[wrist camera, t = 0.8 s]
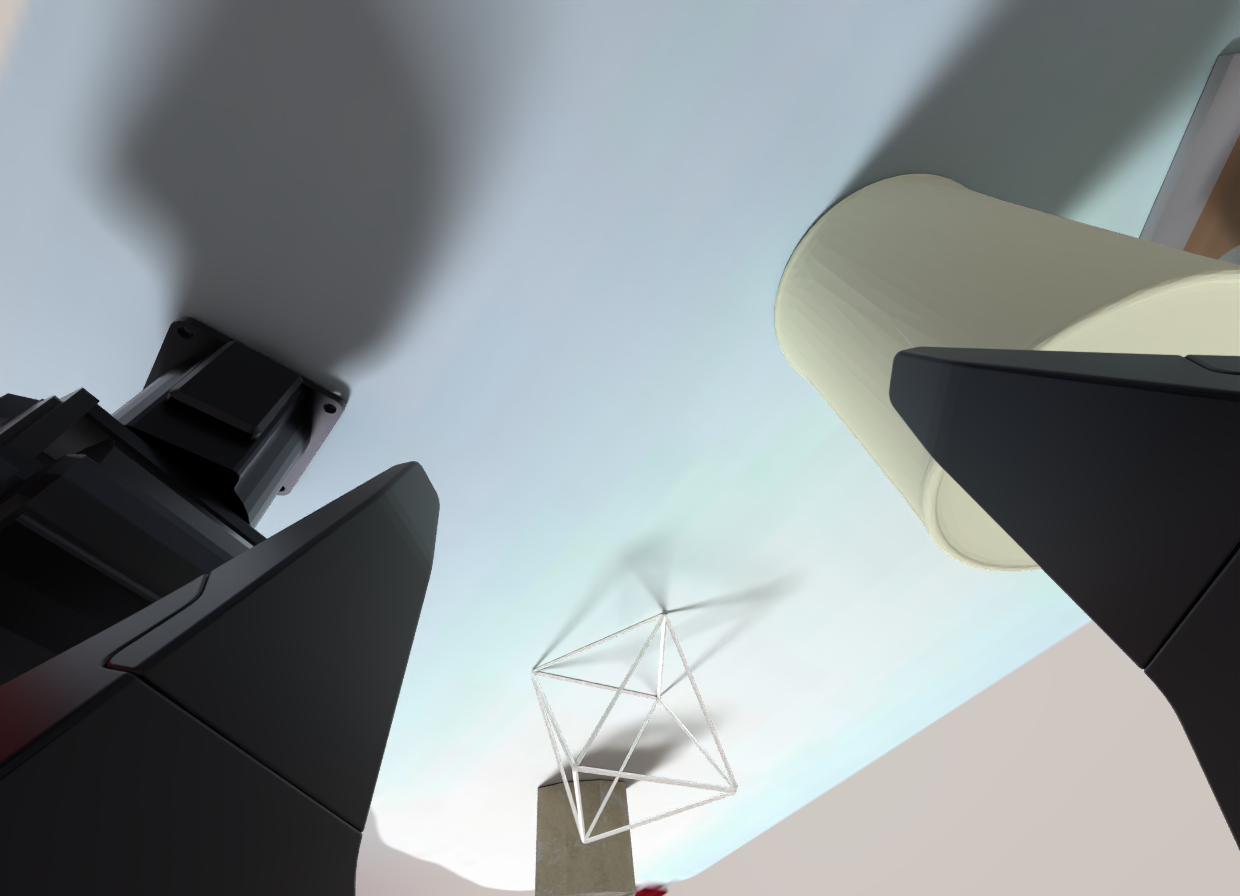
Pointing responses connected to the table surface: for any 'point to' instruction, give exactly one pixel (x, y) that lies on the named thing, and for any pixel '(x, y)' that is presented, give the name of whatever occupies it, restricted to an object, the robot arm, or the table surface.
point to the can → (976, 316)
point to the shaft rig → (1205, 175)
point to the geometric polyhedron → (617, 774)
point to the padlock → (568, 868)
